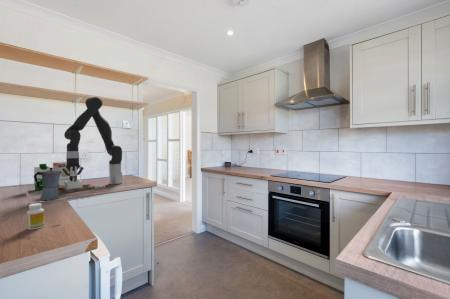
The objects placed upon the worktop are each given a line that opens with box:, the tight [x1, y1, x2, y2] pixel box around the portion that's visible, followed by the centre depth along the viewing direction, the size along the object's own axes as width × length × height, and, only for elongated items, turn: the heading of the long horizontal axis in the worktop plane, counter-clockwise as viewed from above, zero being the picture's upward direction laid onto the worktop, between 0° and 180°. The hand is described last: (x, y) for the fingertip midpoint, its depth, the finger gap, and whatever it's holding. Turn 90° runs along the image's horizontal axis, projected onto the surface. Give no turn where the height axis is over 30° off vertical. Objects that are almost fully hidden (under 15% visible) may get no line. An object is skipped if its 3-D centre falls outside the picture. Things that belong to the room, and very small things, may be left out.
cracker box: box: [52, 161, 75, 188], centre depth 168 cm, size 14×6×21 cm, turn 168°
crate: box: [64, 175, 83, 190], centre depth 157 cm, size 9×10×10 cm
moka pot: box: [33, 167, 62, 201], centre depth 134 cm, size 10×15×20 cm, turn 161°
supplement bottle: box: [26, 202, 45, 231], centre depth 90 cm, size 5×5×10 cm
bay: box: [57, 182, 96, 195], centre depth 158 cm, size 23×13×9 cm, turn 136°
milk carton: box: [33, 163, 51, 191], centre depth 161 cm, size 9×9×20 cm
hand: (73, 180), depth 157 cm, fingers closed on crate
